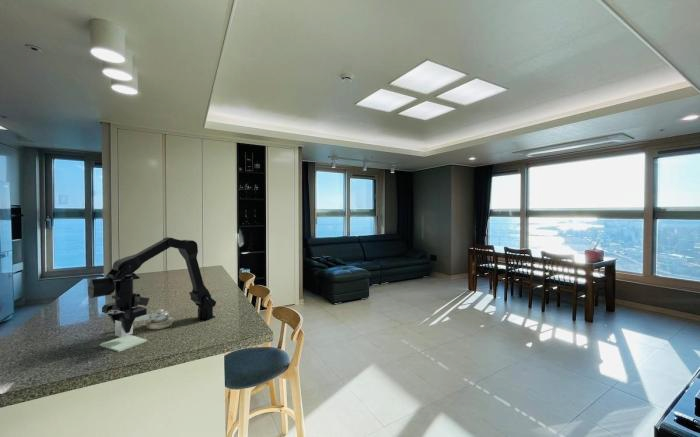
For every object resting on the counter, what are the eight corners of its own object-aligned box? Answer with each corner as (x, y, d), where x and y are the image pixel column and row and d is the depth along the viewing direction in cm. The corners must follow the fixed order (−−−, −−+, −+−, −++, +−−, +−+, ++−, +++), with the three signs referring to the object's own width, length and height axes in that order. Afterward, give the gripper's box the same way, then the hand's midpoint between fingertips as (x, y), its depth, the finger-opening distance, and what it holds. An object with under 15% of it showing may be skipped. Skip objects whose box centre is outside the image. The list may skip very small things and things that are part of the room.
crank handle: (169, 316, 137) (169, 306, 137) (168, 321, 131) (168, 310, 131) (123, 322, 129) (123, 312, 129) (120, 327, 123) (120, 316, 123)
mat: (147, 341, 116) (147, 339, 116) (118, 351, 107) (118, 350, 107) (128, 335, 120) (128, 334, 120) (99, 345, 111) (99, 344, 111)
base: (177, 323, 135) (177, 318, 135) (156, 330, 126) (156, 326, 126) (163, 319, 139) (163, 315, 139) (141, 327, 130) (141, 322, 130)
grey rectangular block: (132, 333, 115) (132, 318, 114) (121, 337, 111) (121, 321, 111) (126, 331, 116) (126, 316, 116) (115, 335, 112) (115, 320, 112)
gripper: (160, 289, 117) (160, 328, 117) (131, 284, 124) (131, 321, 125) (130, 296, 107) (130, 339, 107) (101, 291, 114) (101, 330, 114)
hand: (124, 331), depth 113 cm, fingers closed on grey rectangular block, 4 cm apart
